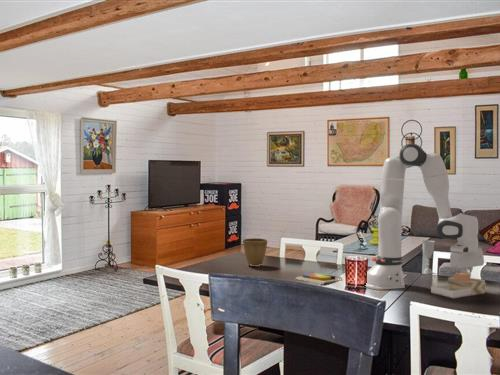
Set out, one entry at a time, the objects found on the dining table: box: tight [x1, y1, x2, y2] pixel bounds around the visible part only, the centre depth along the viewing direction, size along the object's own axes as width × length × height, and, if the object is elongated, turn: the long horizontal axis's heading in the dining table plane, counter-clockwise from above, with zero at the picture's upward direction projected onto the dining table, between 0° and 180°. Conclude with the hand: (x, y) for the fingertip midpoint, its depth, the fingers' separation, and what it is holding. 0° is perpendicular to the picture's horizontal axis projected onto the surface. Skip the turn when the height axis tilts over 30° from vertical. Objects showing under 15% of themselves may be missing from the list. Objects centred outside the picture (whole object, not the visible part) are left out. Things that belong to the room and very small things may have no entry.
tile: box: [453, 272, 471, 281], centre depth 220 cm, size 5×5×2 cm
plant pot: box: [242, 237, 268, 265], centre depth 285 cm, size 15×15×16 cm
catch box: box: [430, 283, 472, 300], centre depth 216 cm, size 12×12×3 cm
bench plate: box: [447, 276, 486, 296], centre depth 222 cm, size 10×12×6 cm
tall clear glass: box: [421, 239, 436, 275], centre depth 267 cm, size 7×7×18 cm
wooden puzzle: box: [295, 272, 343, 286], centre depth 246 cm, size 18×19×4 cm
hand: (467, 276), depth 222 cm, fingers closed
